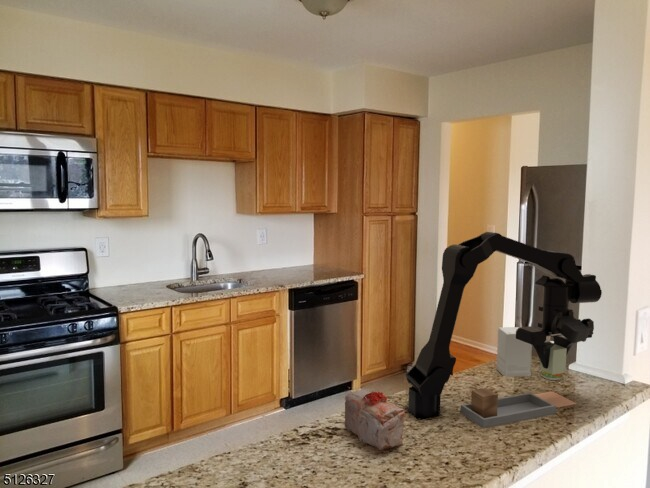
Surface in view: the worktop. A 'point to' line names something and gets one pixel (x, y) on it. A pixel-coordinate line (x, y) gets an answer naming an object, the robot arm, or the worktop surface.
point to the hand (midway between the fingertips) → (552, 367)
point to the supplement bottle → (550, 376)
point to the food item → (374, 419)
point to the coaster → (555, 399)
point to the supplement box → (513, 353)
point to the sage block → (556, 360)
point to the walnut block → (484, 402)
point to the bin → (512, 410)
